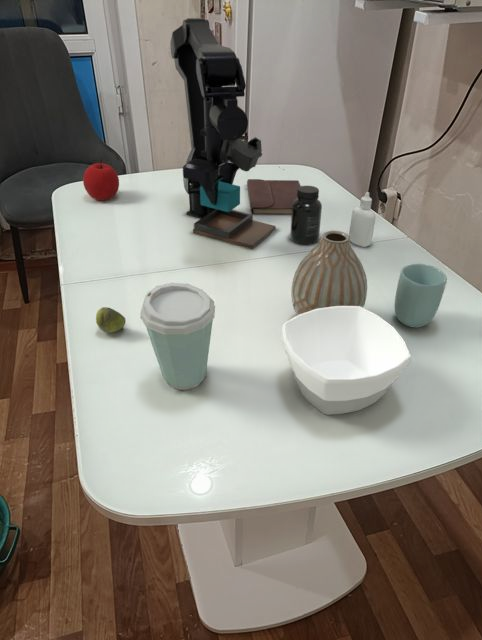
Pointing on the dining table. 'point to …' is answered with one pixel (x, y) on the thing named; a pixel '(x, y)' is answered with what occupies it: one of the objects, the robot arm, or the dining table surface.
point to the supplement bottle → (306, 216)
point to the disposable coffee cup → (179, 331)
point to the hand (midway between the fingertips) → (220, 200)
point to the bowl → (343, 357)
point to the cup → (419, 294)
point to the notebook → (272, 195)
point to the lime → (109, 320)
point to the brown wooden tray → (233, 228)
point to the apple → (101, 181)
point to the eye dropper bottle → (362, 223)
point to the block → (223, 197)
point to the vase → (329, 276)
